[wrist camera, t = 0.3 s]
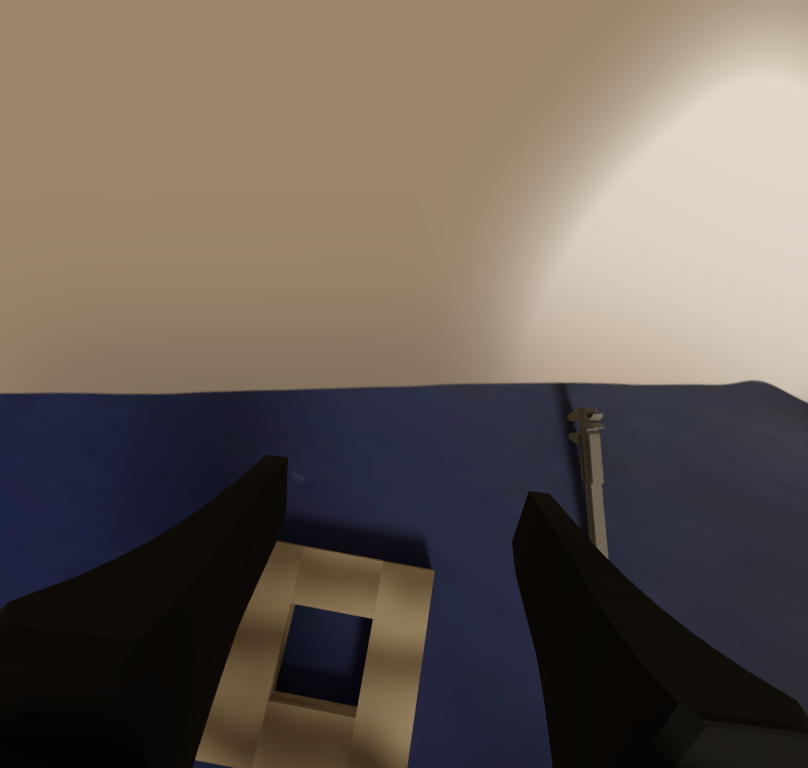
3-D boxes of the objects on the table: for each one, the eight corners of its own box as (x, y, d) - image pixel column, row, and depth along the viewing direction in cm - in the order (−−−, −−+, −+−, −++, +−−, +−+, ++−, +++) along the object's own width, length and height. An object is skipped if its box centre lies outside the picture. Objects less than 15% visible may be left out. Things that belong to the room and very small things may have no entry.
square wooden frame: (401, 783, 35) (402, 801, 33) (205, 744, 36) (192, 759, 33) (431, 569, 41) (434, 570, 38) (261, 537, 41) (253, 537, 39)
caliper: (563, 417, 46) (589, 399, 41) (573, 417, 47) (600, 398, 41) (598, 638, 40) (635, 655, 34) (609, 637, 40) (649, 654, 34)
